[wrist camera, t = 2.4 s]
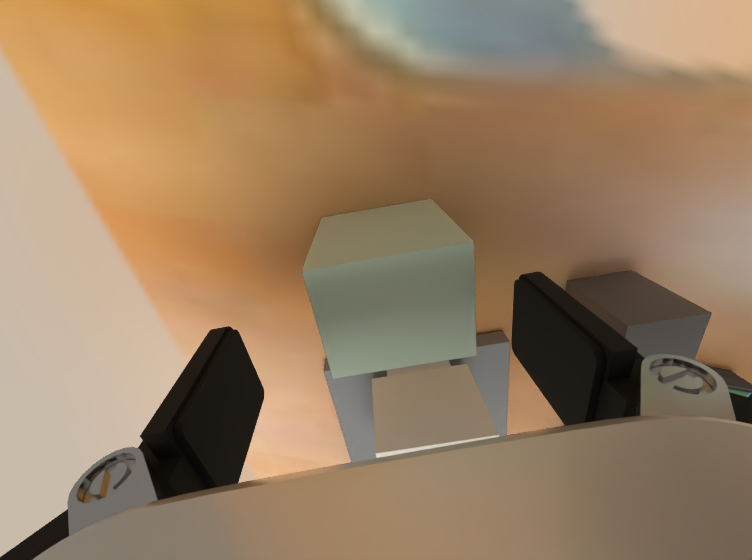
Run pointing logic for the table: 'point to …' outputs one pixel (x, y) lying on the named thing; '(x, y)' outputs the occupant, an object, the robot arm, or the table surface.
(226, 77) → the table surface
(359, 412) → the board
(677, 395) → the robot arm
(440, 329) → the block
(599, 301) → the block
